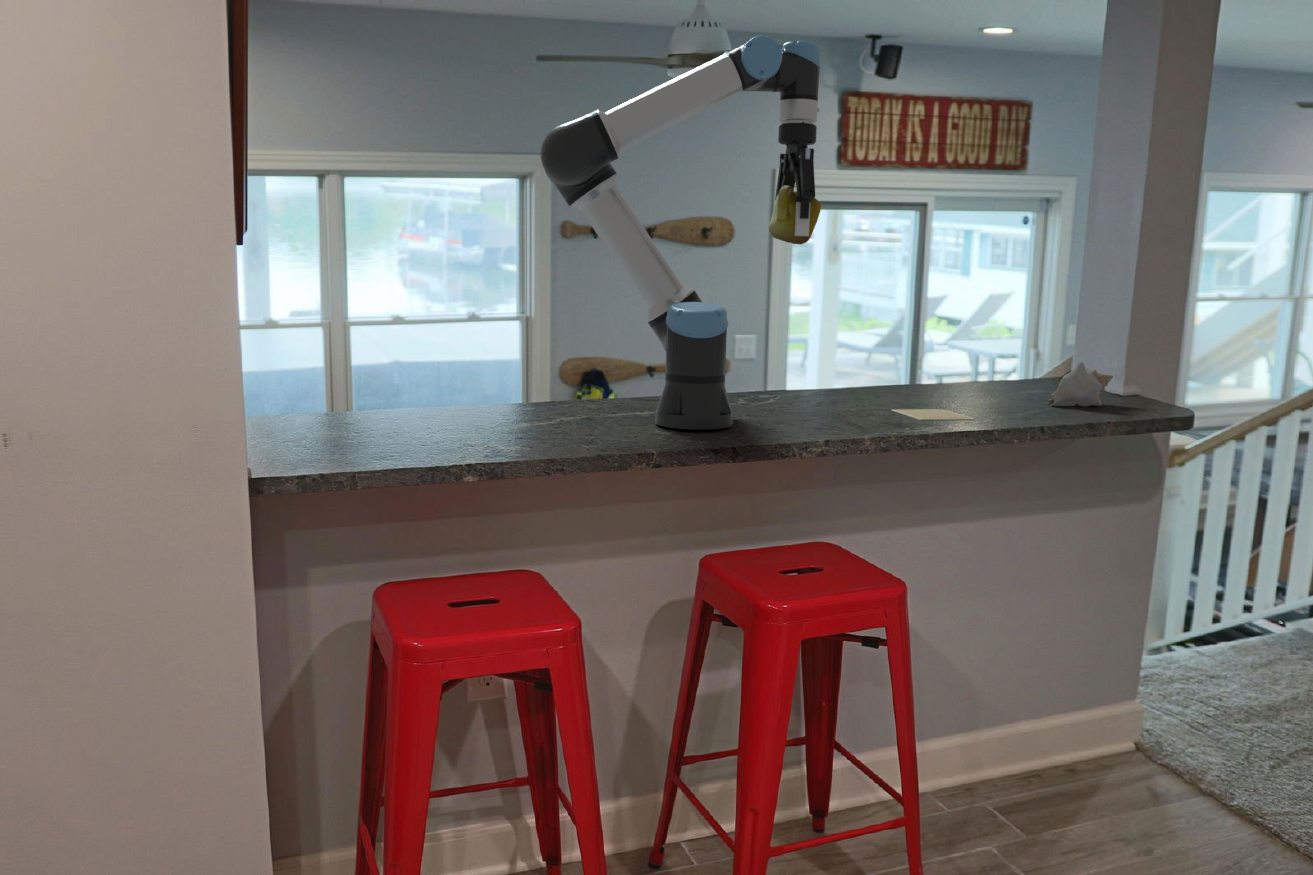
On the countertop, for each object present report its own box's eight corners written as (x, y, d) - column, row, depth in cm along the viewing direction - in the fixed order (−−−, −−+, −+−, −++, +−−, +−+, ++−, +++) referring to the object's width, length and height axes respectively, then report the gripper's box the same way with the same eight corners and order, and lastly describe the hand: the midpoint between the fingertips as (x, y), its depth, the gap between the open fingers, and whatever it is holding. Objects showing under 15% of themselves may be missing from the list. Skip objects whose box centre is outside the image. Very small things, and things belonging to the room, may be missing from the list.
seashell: (1062, 426, 253) (1101, 373, 253) (1092, 435, 243) (1132, 380, 243) (1031, 397, 248) (1070, 344, 249) (1060, 405, 239) (1100, 349, 239)
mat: (920, 420, 221) (920, 418, 221) (891, 410, 234) (891, 409, 234) (975, 419, 223) (975, 418, 223) (943, 410, 237) (943, 409, 237)
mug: (779, 243, 231) (799, 199, 230) (814, 255, 224) (835, 209, 223) (743, 221, 222) (764, 175, 221) (779, 232, 215) (801, 185, 214)
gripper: (836, 117, 210) (830, 236, 214) (796, 130, 233) (791, 237, 236) (798, 115, 209) (793, 234, 212) (762, 128, 231) (758, 236, 234)
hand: (792, 236), depth 224 cm, fingers closed on mug, 10 cm apart
